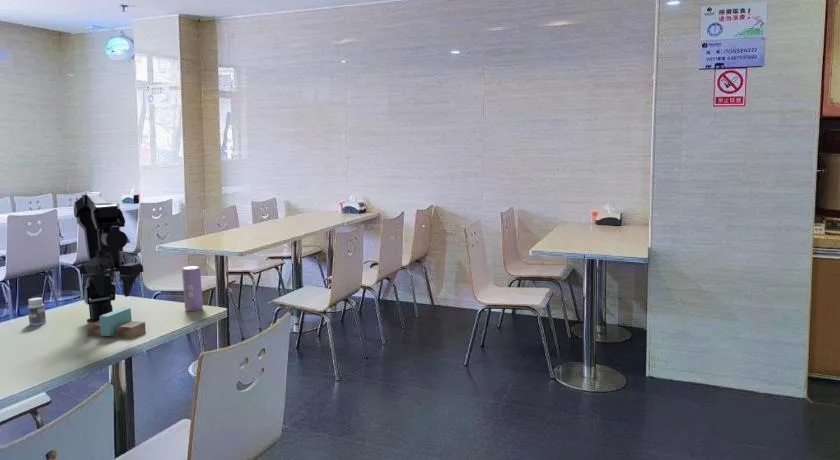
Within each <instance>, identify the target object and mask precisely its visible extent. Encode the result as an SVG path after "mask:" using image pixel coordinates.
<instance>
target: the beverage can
mask: <svg viewBox="0 0 840 460" xmlns="http://www.w3.org/2000/svg"><path fill="white" fill-rule="evenodd" d="M181 274H182V288H183V299H184V300H183V302H184V309H185V310H186V311H187V312H196V311H200V310H202V309H203V307H204V304H203V303H204V302H203V292H202V290H203V287H202V279H201V278H202V277H201V276H202V275H201V269H200V266H198V265H188V266H184V267H182V269H181Z"/></svg>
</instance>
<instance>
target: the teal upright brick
mask: <svg viewBox="0 0 840 460" xmlns="http://www.w3.org/2000/svg"><path fill="white" fill-rule="evenodd" d="M99 319H100V329H101V335H102V336H101V337H112V336H111V335H113V334H115V333H116V326H118V325H121V324H123V323H126V322H128V321H133V320H132V310H131V308H130V307H120V308H118V309H116V310H115V309H114V310H113V311H112V312H109V313H107V314H104V315H101V316H99Z"/></svg>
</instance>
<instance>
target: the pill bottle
mask: <svg viewBox="0 0 840 460" xmlns="http://www.w3.org/2000/svg"><path fill="white" fill-rule="evenodd" d="M27 301H28V302H27V303H28V305H27V312H28V313H27V314H28V322H29V325H30V326H40V325H44V324H46V323H47V319H46V318H47V317H46V310H45V304H44V301H43V297H32V298H28V300H27Z"/></svg>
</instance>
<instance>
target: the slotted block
mask: <svg viewBox="0 0 840 460" xmlns="http://www.w3.org/2000/svg"><path fill="white" fill-rule="evenodd" d="M86 327H87V335H88V336H100V337H103V336H102V335H101V329H100V320H99V321H96V322H95V321H93V322H91V323H89V324H87V326H86ZM145 333H146V321H137V320H136V321H135V320H132V321H128V322H126V323H123V324H121V325H118V326H116V333H115V334H113V335H111V336H110V337H113V338H114V337H117V338H129V339H130V338H131V339H133V338H135V337H137V336H141V335H143V334H145Z"/></svg>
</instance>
